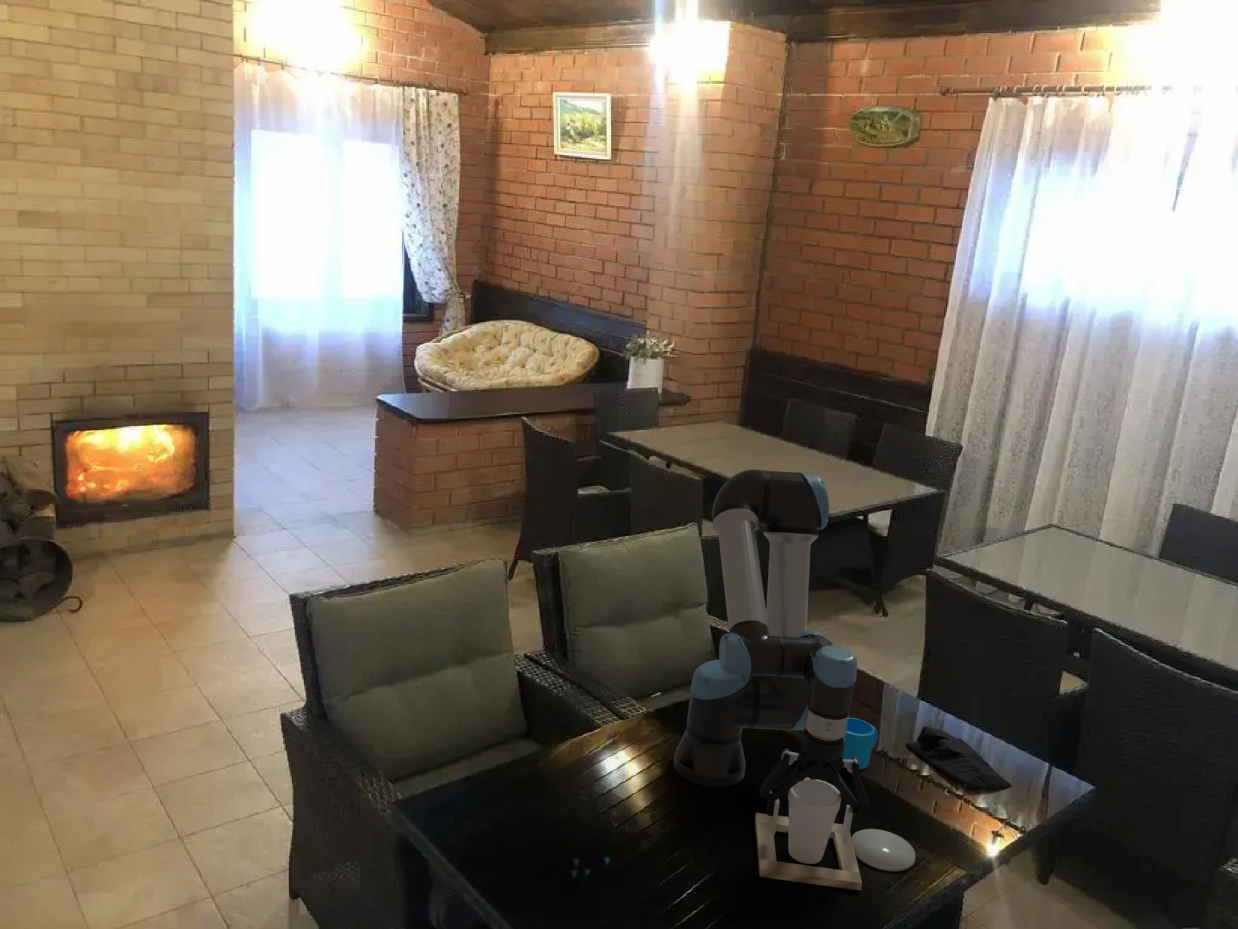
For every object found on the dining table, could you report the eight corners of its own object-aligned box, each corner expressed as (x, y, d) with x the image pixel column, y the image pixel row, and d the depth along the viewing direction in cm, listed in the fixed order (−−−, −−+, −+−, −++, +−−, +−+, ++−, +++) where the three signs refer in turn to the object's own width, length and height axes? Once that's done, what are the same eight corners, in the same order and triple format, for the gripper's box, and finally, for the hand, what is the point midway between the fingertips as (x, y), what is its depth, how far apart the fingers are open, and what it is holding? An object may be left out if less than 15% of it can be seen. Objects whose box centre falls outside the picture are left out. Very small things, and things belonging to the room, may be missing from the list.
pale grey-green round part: (855, 866, 189) (855, 862, 189) (846, 829, 201) (847, 825, 201) (920, 875, 189) (921, 871, 189) (908, 837, 200) (908, 833, 200)
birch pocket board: (759, 876, 184) (760, 869, 183) (754, 819, 201) (755, 812, 201) (860, 890, 183) (861, 883, 182) (847, 832, 200) (848, 825, 200)
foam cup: (833, 847, 195) (844, 786, 192) (827, 874, 186) (837, 811, 183) (784, 833, 198) (793, 773, 194) (775, 860, 189) (785, 797, 186)
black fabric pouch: (956, 796, 218) (960, 776, 217) (900, 743, 238) (904, 725, 237) (1017, 790, 223) (1021, 771, 222) (957, 739, 243) (960, 721, 242)
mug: (851, 773, 222) (857, 739, 220) (823, 755, 229) (829, 722, 227) (888, 760, 229) (893, 727, 227) (860, 743, 236) (865, 711, 234)
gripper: (757, 732, 183) (742, 838, 188) (897, 750, 182) (878, 856, 187) (755, 713, 190) (741, 815, 195) (890, 730, 189) (872, 832, 194)
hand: (808, 835), depth 191 cm, fingers open, 13 cm apart
